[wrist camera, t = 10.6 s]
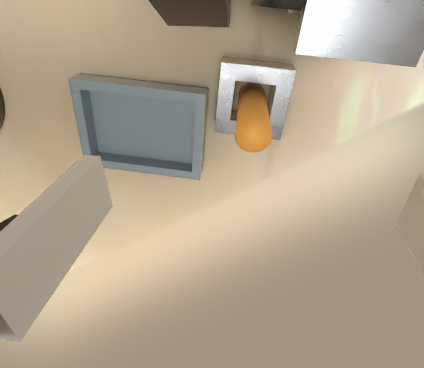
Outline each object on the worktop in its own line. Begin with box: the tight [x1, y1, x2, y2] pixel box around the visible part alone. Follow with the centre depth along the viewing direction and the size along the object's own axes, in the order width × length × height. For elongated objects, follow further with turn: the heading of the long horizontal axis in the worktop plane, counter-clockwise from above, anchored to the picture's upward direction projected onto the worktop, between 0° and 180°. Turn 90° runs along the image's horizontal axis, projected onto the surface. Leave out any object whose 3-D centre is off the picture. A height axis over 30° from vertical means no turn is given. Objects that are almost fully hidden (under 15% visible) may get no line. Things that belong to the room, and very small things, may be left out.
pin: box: [235, 82, 272, 152], centre depth 26 cm, size 3×3×11 cm
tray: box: [69, 73, 208, 180], centre depth 33 cm, size 14×10×2 cm
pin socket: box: [215, 57, 296, 140], centre depth 29 cm, size 7×7×3 cm
